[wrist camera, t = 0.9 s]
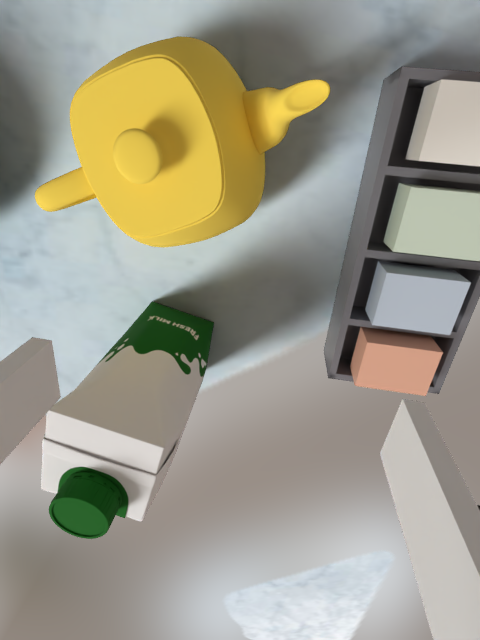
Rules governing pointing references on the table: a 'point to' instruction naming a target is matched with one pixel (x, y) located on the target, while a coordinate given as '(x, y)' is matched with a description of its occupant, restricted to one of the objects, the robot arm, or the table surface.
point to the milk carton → (124, 422)
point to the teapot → (175, 142)
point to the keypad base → (373, 217)
